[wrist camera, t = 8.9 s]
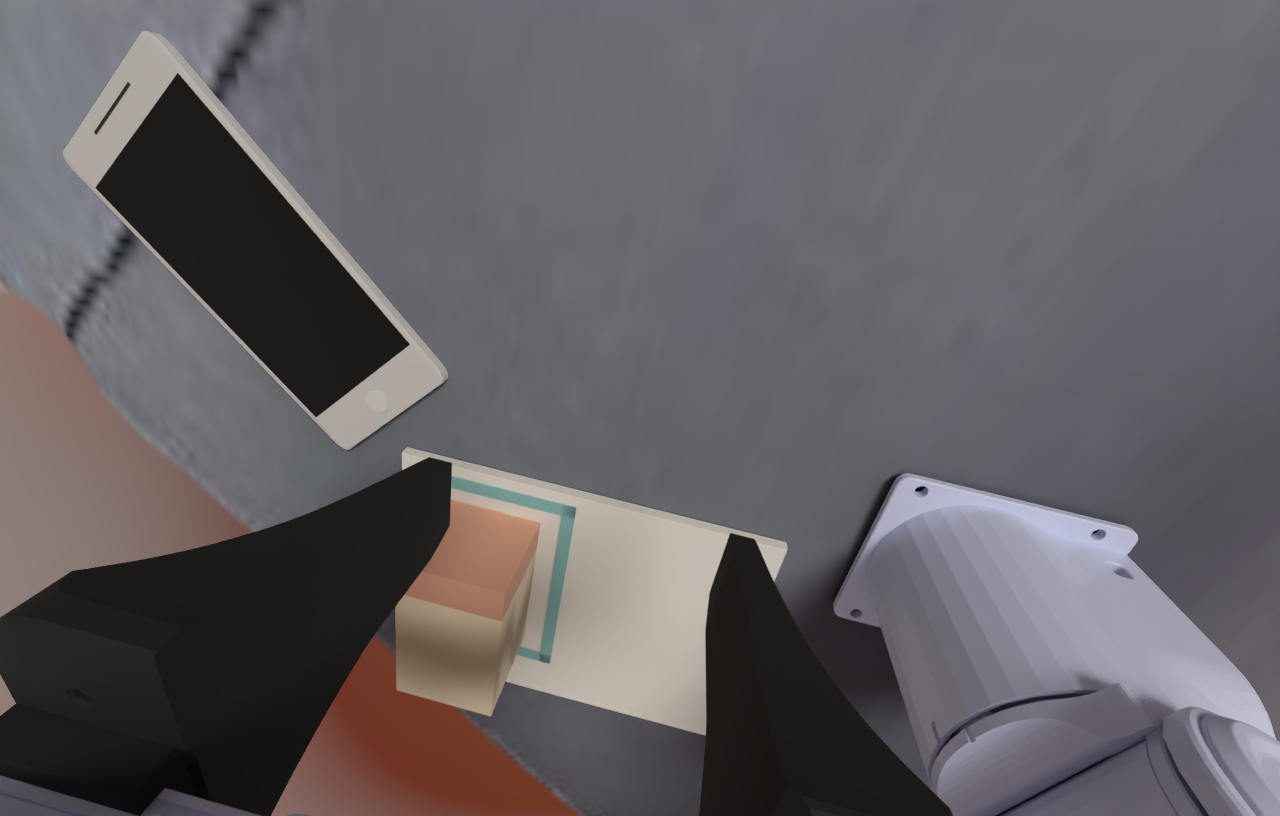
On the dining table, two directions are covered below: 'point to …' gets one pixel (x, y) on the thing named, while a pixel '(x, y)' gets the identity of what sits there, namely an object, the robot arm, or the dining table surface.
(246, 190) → the smartphone
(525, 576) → the block
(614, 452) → the dining table surface
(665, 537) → the mat
